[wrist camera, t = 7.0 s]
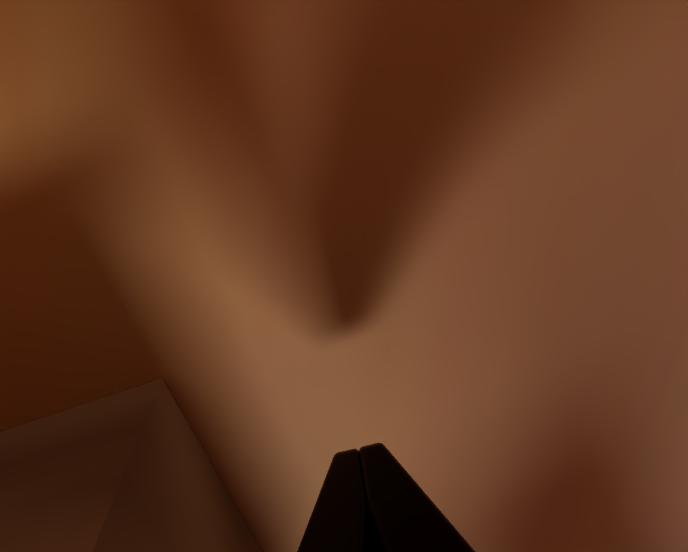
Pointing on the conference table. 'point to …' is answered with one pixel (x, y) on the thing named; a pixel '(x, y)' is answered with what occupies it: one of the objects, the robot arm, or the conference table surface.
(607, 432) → the conference table surface
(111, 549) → the walnut block
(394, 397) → the conference table surface
